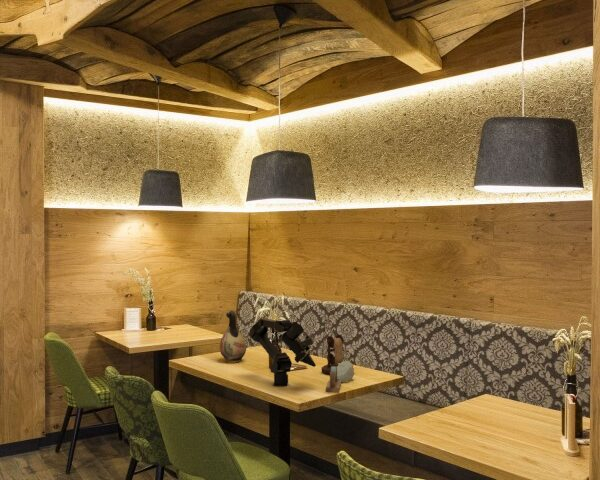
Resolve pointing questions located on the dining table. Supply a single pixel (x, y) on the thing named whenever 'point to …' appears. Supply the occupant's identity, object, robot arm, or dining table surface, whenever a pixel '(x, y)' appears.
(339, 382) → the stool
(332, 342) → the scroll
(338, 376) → the decorative stone
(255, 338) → the robot arm
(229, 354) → the ceramic jug
